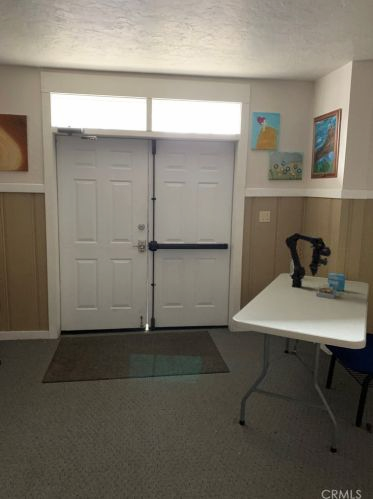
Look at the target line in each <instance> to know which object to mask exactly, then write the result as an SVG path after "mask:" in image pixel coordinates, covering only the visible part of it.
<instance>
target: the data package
mask: <svg viewBox="0 0 373 499" xmlns="http://www.w3.org/2000/svg"><path fill="white" fill-rule="evenodd" d="M327 276H328V277H327V283H330V284H329V287H332V288H333V291H334V290H336V292H338V291H339V292H343V291H344V290H345V285H346V275H345V274H341V273H331V272H330V273H329V274H328V275H327Z"/></svg>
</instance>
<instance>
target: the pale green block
mask: <svg viewBox="0 0 373 499" xmlns="http://www.w3.org/2000/svg"><path fill="white" fill-rule="evenodd" d="M329 284H330V283H328V282H323V283H322V286H323V288H329Z"/></svg>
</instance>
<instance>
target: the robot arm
mask: <svg viewBox="0 0 373 499" xmlns="http://www.w3.org/2000/svg"><path fill="white" fill-rule="evenodd" d="M299 240H302V241H305V242H309V243H310V244H311V246H310V248H312V254H311V261H310V263H309V264H308V267H309V270H310V272H311V274H312V277H315V276H316V275H317V274H318V270H319V268H320V267H321V266H322V265H323V266H325V267H326V266H327V265H328V263H329V260H328V258H327V257H330V256H331V254H332V251H331V248H330V246H326V244H325V242H324V239H323V238H322V236H321V237H320V236H312V235H307V234H304V233H301V232H296V233H294V234H292V235H290V236H289V237H286V239H285V240H284V241H285V242H284V243H285V244H286V247H287V248H288V249H289V252H290V255H291V260H292V262H293V266H294V268H293V273H292V274H291V275H290V279H292V281H291V282H292V283H291V287H293V288H298V289H299V288H301V287H302V286H303V279H304V277H305V276H306V270H305V266H302V265H301V261H300V256H299V254H298V250H297V246H298V242H299ZM322 256H323V257H322Z"/></svg>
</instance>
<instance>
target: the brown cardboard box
mask: <svg viewBox="0 0 373 499" xmlns="http://www.w3.org/2000/svg"><path fill="white" fill-rule="evenodd" d="M318 290H319V292H322V290H324V293H327V291H329V294H332V292H334V290H333V288H332V287H329V288H323V285H319V286H318Z"/></svg>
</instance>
